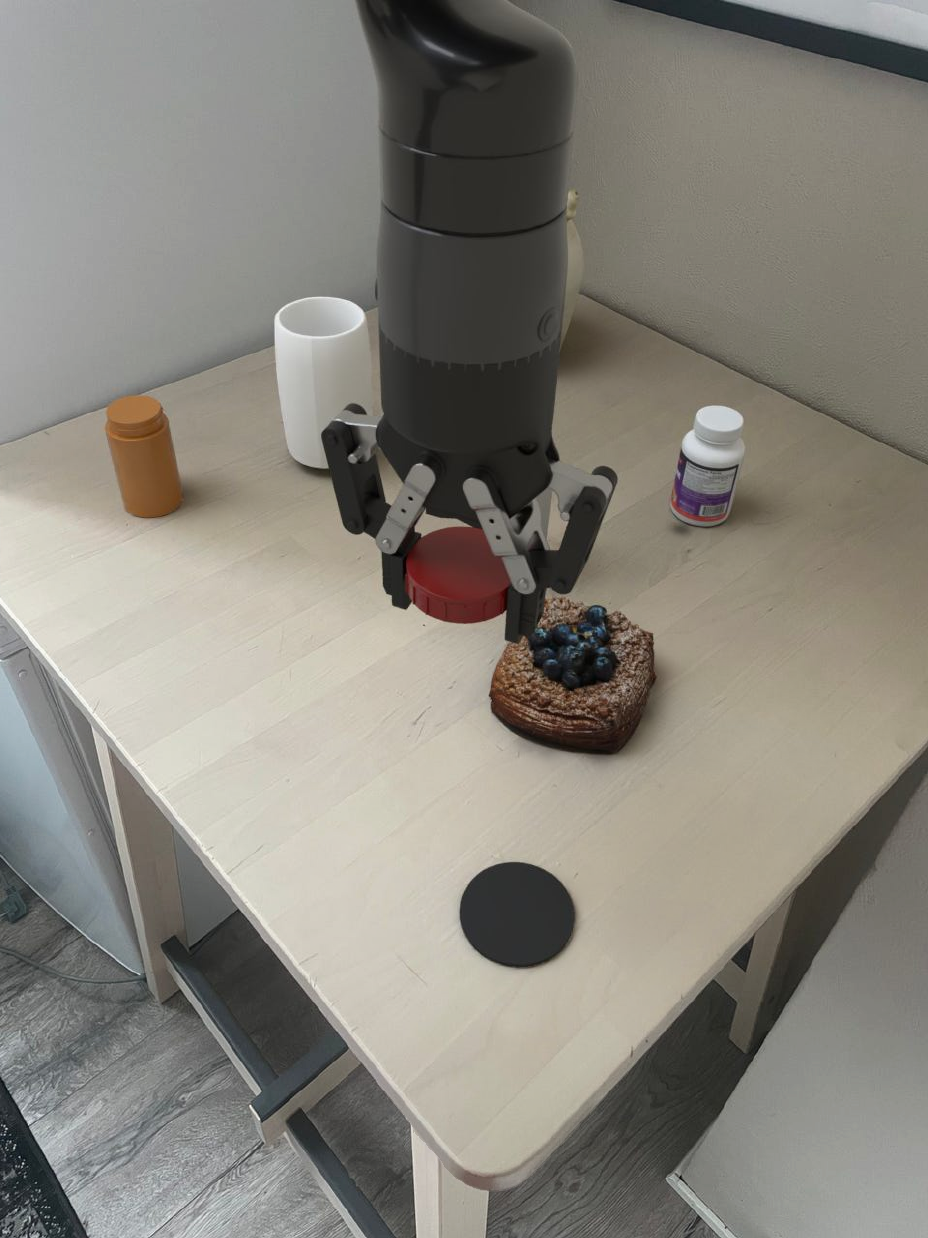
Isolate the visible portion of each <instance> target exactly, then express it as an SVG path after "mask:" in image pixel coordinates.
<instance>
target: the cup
mask: <svg viewBox="0 0 928 1238" xmlns="http://www.w3.org/2000/svg"><path fill="white" fill-rule="evenodd" d="M368 327H369V326H368V320H367V315H366V313H365V311H364V310H363V309H362V308H361V307H360V306H358V305H357V304H356V303H355V302H353V301H350V300H348V299H343V298H339V297H332V296H311V297H304V298H301V299H297V300H293V301H292V302H290V303H289V302H288V303H287V304H286V305H284V306H283V307H281V308H280V309H279V310H278V312H277V313H276V314H274V356H275V357H274V358H275V371H276V380H277V381H276V382H277V388H278V396H279V404H280V411H281V416H282V417H281V418H282V422H283V423H282V424H283V429H284V435H285V441H286V445H287V449H288V452H289V454H290V456H292V458H293V459H294V460H295V461H297V462H298V463H299V464H302V465H305V466H308V467H310V468H317V469H329V467H328V463H327V459H326V455H325V451H324V447H323V443H322V439H321V433H322V431H323V430H324V429H325V428H326V427H327V426H328V425H329V423H330V422H331V421H332V420H333V419H334V418H335V417H336V416H337V415H338V414H339V413H340V412H341V411H342V410H343V409H344V408H345V407H346V406H347V405H348V404H351V403H356V404H358V405H360V406H362V407H363V408H364V409H365V411H366V413H367V415H373V369H372V356H371V342H370V336H369V335H370V334H369V328H368Z"/></svg>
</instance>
